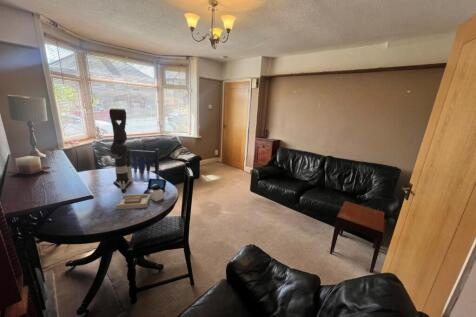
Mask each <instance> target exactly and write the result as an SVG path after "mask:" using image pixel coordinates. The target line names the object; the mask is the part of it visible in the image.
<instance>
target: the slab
mask: <svg viewBox="0 0 476 317" xmlns="http://www.w3.org/2000/svg"><path fill="white" fill-rule="evenodd" d="M141 200H142V199H141V196H133V197H127V198H126V200H125V201H124V204H136V203H140V202H141Z"/></svg>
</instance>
